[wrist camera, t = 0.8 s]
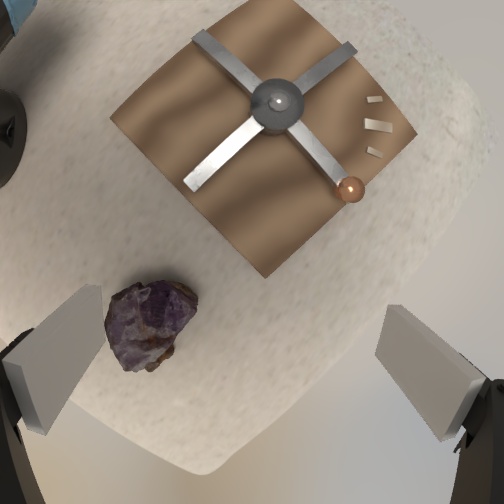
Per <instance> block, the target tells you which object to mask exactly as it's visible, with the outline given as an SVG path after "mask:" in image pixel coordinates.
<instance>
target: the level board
mask: <svg viewBox="0 0 504 504" xmlns="http://www.w3.org/2000/svg"><path fill="white" fill-rule="evenodd" d="M206 32H208V33H209V34H210V35H211V36H212V37H214V38H215V39H216V40H217V41H218V42H219V43H221V44H222V45H223V46H224V47H225V48H226V49H227V50H229V51H230V52H231V53H232V54H233V55H234V56H235V57H236V58H238V59H239V60H240V61H241V62H242V63H243V64H244V65H245V66H246V67H247V68H248V69H250V70H251V71H252V72H253V73H254V74H255V75H256V76H257V77H258V78H259V79H260V80H261V81H262V82H264V81H266V80H268V79H273V78H280V79H285V80H288V81H290V82H292V83H293V82H294V81H295V80H296V79H298V78H299V77H300V76H301V75H303V74H304V73H305V72H307V71H308V70H309V69H310V68H312V67H313V66H314V65H316V64H317V63H318V62H320V61H321V60H322V59H324V58H325V57H326V56H328V55H329V54H330V53H332V52H333V51H335V50H336V49H337V48H339V47H340V46H342V44H341V43H340V42H339V41H338V40H337V39H336V38H335V37H334V36H333V35H332V34H331V33H329V32H328V31H327V30H326V29H325V28H324V27H323V26H322V25H321V24H320V23H319V22H318V21H317V20H315V19H314V18H313V17H312V16H311V15H310V14H309V13H307V12H306V11H305V10H304V9H303V8H302V7H300V6H299V5H298V4H297V3H296V2H294V1H293V0H249V1H247V2H246V3H244V4H243V5H241V6H240V7H238V8H237V9H235V10H234V11H232V12H231V13H229V14H228V15H226V16H225V17H224V18H222V19H221V20H219V21H218V22H217V23H215V24H214V25H212V26H211V27H210V28H208V29H207V30H206ZM303 97H304V101H305V108H304V112H303V115H302V116H301V118H300V121H301V122H302V123H303V124H304V125H305V126H306V127H307V128H308V129H309V130H310V131H311V132H312V134H313V135H314V136H315V137H316V138H317V139H318V140H319V141H320V142H321V144H322V145H323V146H324V147H325V148H326V149H327V150H328V152H329V153H330V154H331V155H332V156H333V157H334V159H335V160H336V161H337V162H338V163H339V165H340V166H341V167H342V168H343V169H344V170H345V172H346V173H347V174H348V175H349V176H354V177H357V178H359V179H360V180H361V181H362V182H363V184H364V186H365V185H367V184H368V183H369V182H370V181H371V180H372V179H373V178H374V177H375V176H376V175H377V174H378V173H379V172H380V171H381V170H382V169H383V168H384V167H385V166H386V165H387V164H388V163H389V162H390V161H391V160H392V159H393V158H394V157H395V156H396V155H397V154H398V153H399V152H400V151H401V150H402V149H403V148H404V147H405V146H406V145H407V144H408V143H410V142H411V141H412V140H413V139H414V138H415V137H416V136H417V135H418V134H417V133H416V131H415V130H414V129H413V127H412V126H411V124H410V123H409V122H408V120H407V119H406V118H405V116H404V115H403V114H402V113H401V111H400V110H399V109H398V107H397V106H396V105H395V104H394V102H393V101H392V100H391V99H390V97H389V96H388V95H387V94H386V93H385V91H384V90H383V89H382V88H381V87H380V85H379V84H378V83H377V82H376V81H375V80H374V78H373V77H372V76H371V75H370V74H369V73H368V72H367V71H366V69H365V68H364V67H363V66H362V65H361V64H360V63H359V62H358V61H357V60H356V59H355V58H354V57H352V58H350V59H349V60H348V61H346V62H345V63H344V64H343V65H341V66H340V67H339V68H337V69H336V70H335V71H333V72H332V73H331V74H330V75H328V76H327V77H326V78H324V79H323V80H322V81H321V82H319V83H318V84H317V85H316V86H314V87H313V88H312V89H311V90H309V91H308V92H307V93H306V94H305V95H303ZM250 102H251V97H250V96H249V95H248V94H247V93H246V92H245V91H244V90H243V89H242V88H241V87H240V86H239V85H238V84H237V83H236V82H235V81H234V80H233V79H232V78H230V77H229V76H228V75H227V74H226V73H225V72H224V71H223V70H222V69H221V68H220V67H219V66H217V65H216V64H215V63H214V62H213V61H212V60H211V59H210V58H209V57H207V56H206V55H205V54H204V53H203V52H202V51H201V50H199V49H198V48H197V47H196V46H195V45H194V44H193V42H192V41H191V42H190V43H189V44H188V45H186V46H185V47H184V48H183V49H182V50H180V51H179V52H178V53H177V54H176V55H174V56H173V57H172V58H171V59H170V60H169V61H167V62H166V63H165V64H164V65H163V66H162V67H161V68H159V69H158V70H157V71H156V72H155V73H154V74H153V75H152V76H151V77H150V78H148V79H147V80H146V81H145V82H144V83H143V84H142V85H141V86H140V87H139V88H138V89H137V90H136V91H135V92H134V93H133V94H132V95H131V96H130V97H129V98H128V99H127V100H126V101H125V102H124V103H123V104H122V105H121V106H120V107H119V108H118V109H117V110H116V111H115V112H114V113H113V114H112V116H111V117H110V119H111V120H112V121H113V122H114V123H115V124H116V126H117V127H118V128H119V129H120V130H121V131H122V132H123V133H124V134H125V135H126V136H127V137H128V138H129V139H130V140H131V141H132V142H133V143H134V144H135V145H136V146H137V147H138V148H139V150H140V151H141V152H142V153H143V154H144V155H145V156H146V157H147V158H148V159H149V160H150V161H151V162H152V163H153V164H154V165H155V166H156V167H157V168H158V169H159V170H160V171H161V172H162V173H163V174H164V175H165V177H166V178H167V179H168V180H169V181H170V182H171V183H172V184H173V185H174V186H175V187H176V188H177V189H178V190H179V191H180V192H181V193H182V194H183V195H184V196H185V197H186V198H187V199H188V200H189V201H190V202H191V203H192V204H193V205H194V206H195V207H196V209H197V210H198V211H199V212H200V213H201V214H202V215H203V216H204V217H205V218H206V219H207V220H208V221H209V222H210V223H211V224H212V225H213V226H214V227H215V228H216V229H217V230H218V231H219V232H220V233H221V234H222V235H223V236H224V237H225V238H226V239H227V240H228V241H229V242H230V243H231V244H232V245H233V246H234V247H235V248H236V250H237V251H238V252H239V253H240V254H241V255H242V256H243V257H244V258H245V259H246V260H247V261H248V262H249V263H250V264H251V265H252V266H253V267H254V268H255V269H256V270H257V271H258V272H259V273H260V274H261V275H262V276H263V277H264V278H265V279H266V278H267V277H268V276H269V275H270V274H271V273H272V272H274V271H275V270H276V269H277V268H278V267H279V266H280V265H281V264H282V263H283V262H284V261H286V260H287V259H288V258H289V257H290V256H291V255H292V254H293V253H294V252H295V251H296V250H298V249H299V248H300V247H301V246H302V245H303V244H304V243H305V242H306V241H307V240H308V239H309V238H310V237H312V236H313V235H314V234H315V233H316V232H317V231H318V230H319V229H320V228H321V227H322V226H323V225H324V224H325V223H327V222H328V221H329V220H330V219H331V218H332V217H333V216H334V215H335V214H336V213H337V212H338V211H339V210H340V209H341V208H342V207H343V206H345V205H346V204H349V203H350V202H346V201H342V200H339V199H338V198H337V197H336V196H335V194H334V190H333V187H334V186H333V185H332V184H331V183H330V182H329V180H328V179H327V178H326V177H325V176H324V175H323V173H322V172H321V171H320V170H319V169H318V168H317V167H316V165H315V164H314V163H313V162H312V161H311V160H310V159H309V158H308V156H307V155H306V154H305V153H304V152H303V151H302V150H301V149H300V148H299V146H298V145H297V144H296V143H295V142H294V141H293V140H292V139H291V138H290V137H289V136H288V135H287V133H286V132H285V133H283V134H281V135H279V136H266V135H263V134H261V133H259V134H258V135H256V136H255V137H254V138H253V139H252V140H251V141H250V142H249V143H247V144H246V145H245V146H244V147H243V148H242V149H241V150H240V151H239V152H238V153H236V154H235V155H234V156H233V157H232V158H231V159H230V160H229V161H228V162H227V163H226V164H225V165H224V166H222V167H221V168H220V169H219V170H218V171H217V172H216V173H215V174H214V175H213V176H212V177H211V178H210V179H209V180H208V181H207V182H206V183H205V184H204V185H203V186H202V187H201V188H199V189H198V190H197V191H196V192H193V191H192V190H191V189H190V188H189V187H188V185H187V184H186V183H185V182H184V181H183V180H184V179H185V178H186V177H187V176H188V175H189V174H190V173H191V172H192V171H193V170H194V169H195V168H196V167H197V166H198V165H199V164H200V163H201V162H202V161H203V160H204V159H205V158H206V157H208V156H209V155H210V154H211V153H212V152H213V151H214V150H215V149H216V148H217V147H218V146H219V145H220V144H221V143H223V142H224V141H225V140H226V139H227V138H228V137H229V136H230V135H231V134H232V133H234V132H235V131H236V130H237V129H238V128H239V127H240V126H241V125H242V124H244V123H245V122H246V121H247V120H248V119H249V116H248V113H249V107H250Z"/></svg>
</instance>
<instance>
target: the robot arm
mask: <svg viewBox="0 0 504 504" xmlns="http://www.w3.org/2000/svg"><path fill="white" fill-rule="evenodd" d="M36 4H37V0H0V54H1V52H2V51H3V50H4V48H5V47H6V46H7V44H8V43H9V42H10V40H11V39H12V38H13V36H16V35H17V33H18V29H19V28H20V27H21V25H22V24H23V23H24V21H25V20H26V19H27V18H28V16H29V15H30V14H31V13H32V11H33V10H34V8H35V6H36ZM26 128H27V126H26V115H25V110H24V107H23V104H22V102H21V101H20V99H19V98H18V97H17V96H16V95H15V94H14V93H12V92H9V91H6V90H3V89H0V188H1V187H2V186H3V185H4V184H5V183H6V182H7V181H8V180H9V179H10V178H11V176H12V175H13V173H14V171H15V170H16V168H17V166H18V163H19V161H20V159H21V156H22V153H23V149H24V145H25V139H26ZM105 341H106V339H105V330H104V320H103V308H102V295H101V286H96V285H88V284H86V285H84V286H83V287H82V288H81V289H80V290H79V291H77V292H76V293H75V294H74V295H73V296H71V297H70V298H69V299H68V300H67V301H66V302H64V303H63V304H62V305H61V306H60V307H59V308H58V309H56V310H55V311H54V312H53V313H52V314H51V315H50V316H48V317H47V318H46V319H45V320H44V321H43V322H42V323H41V324H40V325H38V326H37V327H36V328H35V329H34V328H31V329H29V330H27V331H25V332H23V333H21V334H20V335H19V336H18V337H17V338H16V339H14V341H12V342H11V343H10V344H9V346H7V347H6V348H5V349H4V350H2V351H1V352H0V504H45V501H44V499H43V496H42V494H41V492H40V489H39V487H38V484H37V481H36V479H35V476H34V473H33V471H32V468H31V465H30V462H29V459H28V456H27V453H26V449H25V446H24V443H23V439H22V436H21V432H20V430H19V427H18V425H17V423H18V421H19V420H20V418H21V417H22V418H23V420H24V423H25V425H26V427H27V429H28V430H31V431H34V432H36V433H39V434H42V435H45V436H46V435H47V433H48V431H49V430H50V428H51V426H52V424H53V423H54V421H55V419H56V418H57V416H58V414H59V413H60V411H61V410H62V408H63V406H64V405H65V403H66V401H67V400H68V398H69V396H70V395H71V393H72V392H73V390H74V388H75V387H76V385H77V384H78V382H79V381H80V379H81V377H82V376H83V374H84V373H85V371H86V370H87V368H88V367H89V365H90V364H91V362H92V360H93V359H94V357H95V356H96V354H97V353H98V351H99V350H100V348H101V347H102V345H103V344H104V342H105ZM375 356H376V357H377V358H378V360H379V361H380V362H381V363H382V365H383V366H384V367H385V369H386V370H387V371H388V373H389V374H390V375H391V377H392V378H393V379H394V381H395V382H396V383H397V385H398V386H399V387H400V388H401V390H402V391H403V392H404V394H405V395H406V397H407V398H408V399H409V400H410V402H411V403H412V404H413V406H414V407H415V408H416V410H417V411H418V413H419V414H420V415H421V417H422V418H423V419H424V421H425V422H426V424H427V425H428V426H429V428H430V429H431V430H432V432H433V433H434V435H435V436H436V437H437V439H438V440H439V441H440V442H442V441H445V440H448V439H451V438H454V437H455V436H456V434H457V432H458V431H459V429H460V427H461V425H462V426H463V427H464V428H465V429H466V432H465V433H464V435H463V437H462V438H461V440H460V441H459V443H458V444H457V446H456V448H455V449H454V453H456V451H457V450H458V449H459V448H461V449H460V453H459V454H460V455H459V462H458V468H457V473H456V478H455V483H454V488H453V492H452V497H451V501H450V504H504V380H503V379H496V380H494V381H491V380H490V379H489V378H488V377H486V376H485V375H484V374H483V373H482V372H481V371H480V370H479V369H478V368H476V367H475V366H473V364H472V363H471V362H470V361H468V360H467V359H466V358H465V357H464V356H463V355H462V354H460V353H458V352H457V351H456V350H455V349H453V348H452V347H451V346H450V345H449V344H448V343H446V342H445V341H444V340H443V339H442V338H441V337H439V336H438V335H437V334H436V333H435V332H433V331H432V330H431V329H430V328H429V327H427V326H426V325H425V324H424V323H422V322H421V321H420V320H419V319H418V318H416V317H415V316H414V315H413V314H412V313H410V312H409V311H408V310H407V309H406V308H404V307H403V306H402V305H388V307H387V311H386V315H385V319H384V323H383V327H382V331H381V335H380V338H379V342H378V345H377V349H376V352H375Z"/></svg>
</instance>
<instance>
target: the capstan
mask: <svg viewBox="0 0 504 504" xmlns="http://www.w3.org/2000/svg"><path fill="white" fill-rule="evenodd" d="M191 39H192V42H193V44H194V45H195V46H196V47H197V48H198V49H199V50H201V51H202V52H203V53H204V54H205V55H206V56H207V57H209V58H210V59H211V60H212V61H213V62H214V63H215V64H216V65H217V66H219V67H220V68H221V69H222V70H223V71H224V72H225V73H226V74H227V75H228V76H229V77H230V78H232V79H233V80H234V81H235V82H236V83H237V84H238V85H239V86H240V87H241V88H242V89H243V90H244V91H245V92H246V93H247V94H248V95H249V96H250V97H251V102H250V107H249V113H248V116H249V119H248V120H247V121H246V122H245V123H244V124H242V125H241V126H240V127H239V128H238V129H237V130H236V131H235V132H234V133H232V134H231V135H230V136H229V137H228V138H227V139H226V140H225V141H224V142H223V143H221V144H220V145H219V146H218V147H217V148H216V149H215V150H214V151H213V152H212V153H211V154H210V155H209V156H208V157H206V158H205V159H204V160H203V161H202V162H201V163H200V164H199V165H198V166H197V167H196V168H195V169H194V170H193V171H192V172H191V173H190V174H189V175H188V176H187V177H186V178H185V179H184V180H183V181H184V182H185V183H186V184H187V185H188V187H189V188H190V189H191V190H192V191H193V192H196V191H197V190H198V189H199V188H201V187H202V186H203V185H204V184H205V183H206V182H207V181H208V180H209V179H210V178H211V177H212V176H213V175H214V174H215V173H216V172H217V171H218V170H219V169H220V168H221V167H222V166H224V165H225V164H226V163H227V162H228V161H229V160H230V159H231V158H232V157H233V156H234V155H235V154H236V153H238V152H239V151H240V150H241V149H242V148H243V147H244V146H245V145H246V144H247V143H249V142H250V141H251V140H252V139H253V138H254V137H255V136H256V135H258V134H259V133H261V134H263V135H266V136H279V135H281V134H283V133H285V132H286V133H287V135H288V136H289V137H290V138H291V139H292V140H293V141H294V142H295V143H296V144H297V145H298V146H299V148H300V149H301V150H302V151H303V152H304V153H305V154H306V155H307V156H308V158H309V159H310V160H311V161H312V162H313V163H314V164H315V165H316V167H317V168H318V169H319V170H320V171H321V172H322V173H323V175H324V176H325V177H326V178H327V179H328V180H329V182H330V183H331V184H332V185H333V186H334V187H333V190H334V194H335V196H336V197H337V198H338V199H339V200H342V201H346V202H351V203H355V202H358V201H360V200H361V199H362V198H363V196H364V193H365V186H364V184H363V182H362V181H361V180H360V179H359V178H357V177H354V176H349V175H348V174H347V173H346V172H345V170H344V169H343V168H342V167H341V166H340V165H339V163H338V162H337V161H336V160H335V159H334V157H333V156H332V155H331V154H330V153H329V152H328V150H327V149H326V148H325V147H324V146H323V145H322V144H321V142H320V141H319V140H318V139H317V138H316V137H315V136H314V135H313V134H312V132H311V131H310V130H309V129H308V128H307V127H306V126H305V125H304V124H303V123H302V122H301V121H300V118H301V116H302V115H303V112H304V108H305V101H304V97H303V95H305V94H306V93H307V92H308V91H309V90H311V89H312V88H313V87H314V86H316V85H317V84H318V83H319V82H321V81H322V80H323V79H324V78H326V77H327V76H328V75H330V74H331V73H332V72H333V71H335V70H336V69H337V68H339V67H340V66H341V65H343V64H344V63H345V62H346V61H348V60H349V59H350V58H352V57H353V56H354V55H355V54H356V53H357V52H358V51H357V50H356V49H355V48H354V47H353V46H352V45H351V44H350V43H349V42H348V41H347V42H346V43H344V44H343V45H342V46H340V47H339V48H337V49H336V50H335V51H333V52H332V53H330V54H329V55H328V56H326V57H325V58H324V59H322V60H321V61H320V62H318V63H317V64H316V65H314V66H313V67H312V68H310V69H309V70H308V71H307V72H305V73H304V74H303V75H301V76H300V77H299V78H298V79H296V80H295V81H294V82H293V83H292V82H290V81H288V80H285V79H280V78H273V79H268V80H266V81H264V82H262V81H261V80H260V79H259V78H258V77H257V76H256V75H255V74H254V73H253V72H252V71H251V70H250V69H248V68H247V67H246V66H245V65H244V64H243V63H242V62H241V61H240V60H239V59H238V58H236V57H235V56H234V55H233V54H232V53H231V52H230V51H229V50H227V49H226V48H225V47H224V46H223V45H222V44H221V43H219V42H218V41H217V40H216V39H215V38H214V37H212V36H211V35H210V34H209V33H208V32H206V31H205V30H204V29H203V30H201V31H200V32H199V33H197V34H196V35H195V36H193V37H192V38H191Z"/></svg>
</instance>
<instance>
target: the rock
mask: <svg viewBox="0 0 504 504" xmlns="http://www.w3.org/2000/svg"><path fill="white" fill-rule="evenodd" d="M197 305H198V297H197V295H196V294H194V293H193V292H192V290H191V289H190V288H188V287H187V286H184V285H183V284H181V283H176V282H166V281H164V280H163V281H156V282H152V283H150V284H148V285H147V286H145V287H144V286H142V283H141V282H137V283H136V284H134V285H132V286H131V287H129V288H126V289H124V290H122V291H120V292H118V293H116V294H115V295H113V296H112V297H111V302H110V304H109V310H108V313H107V316H106V319H105V322H104V327H105V331H106V335H107V338H108V341H109V343H110V349H112V350H113V352H114V355H115V357H116V358H117V359H118V361H119V363H120V364H121V366H122V367H123V370H124V371H133V372H136V373H137V372H138V371H139V370H142V369H144V368H145V369H146V370H147V371H148V372H153V371H154V370H155V369H156V368H157V367H158V366H160V364H161V363H162V362H163V360H165V359H168V358H170V357H171V356H172V355H173V353H174V347H173V345H172V344H173V342H174V340H175V338H176V336H177V335H178V333H179V332H180V331H181V330H182V329H183V328H184V326H185V325H186V324H187V323H188V322H189V320H190V319H191V318H192V317H193V316H194V315H195V313H196V312H197Z"/></svg>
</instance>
